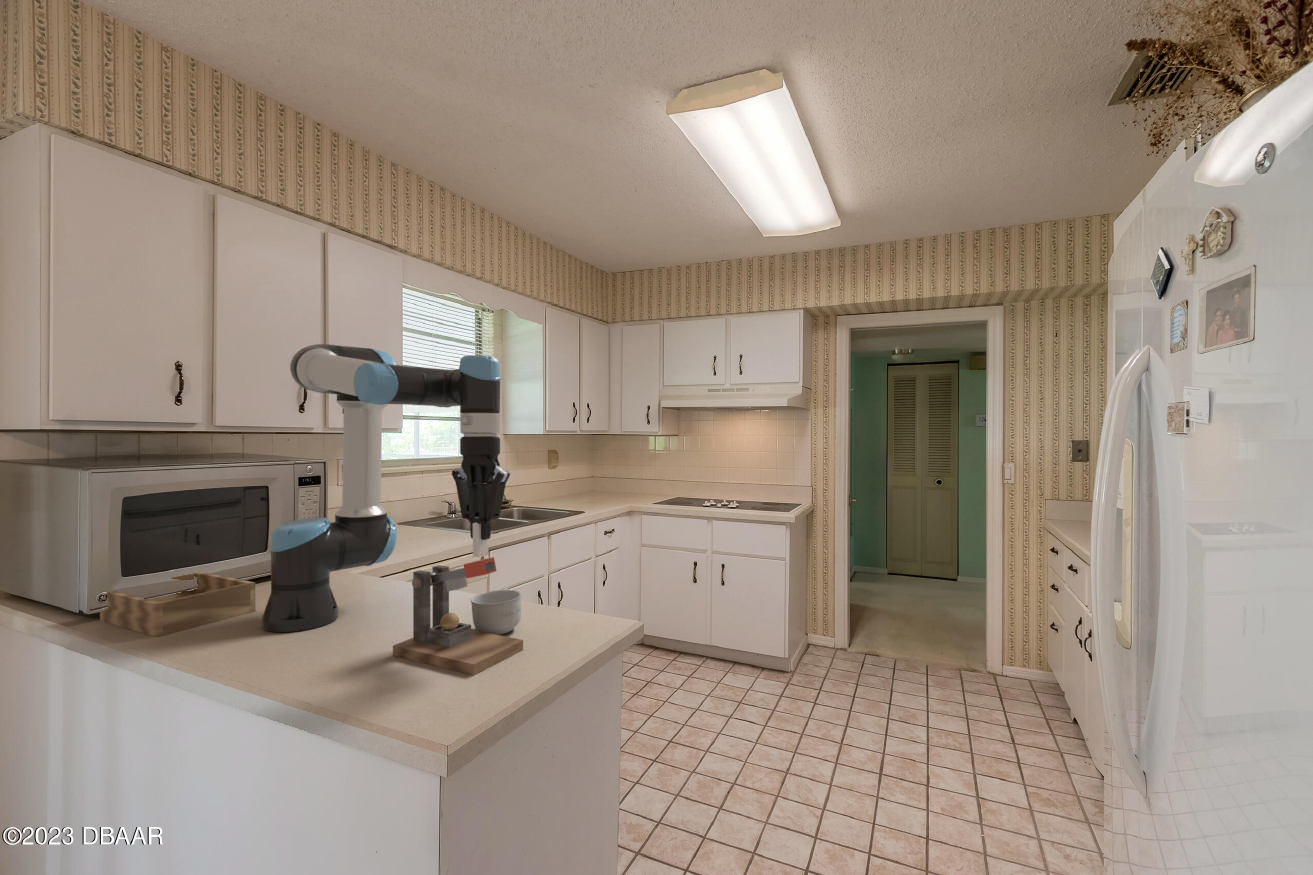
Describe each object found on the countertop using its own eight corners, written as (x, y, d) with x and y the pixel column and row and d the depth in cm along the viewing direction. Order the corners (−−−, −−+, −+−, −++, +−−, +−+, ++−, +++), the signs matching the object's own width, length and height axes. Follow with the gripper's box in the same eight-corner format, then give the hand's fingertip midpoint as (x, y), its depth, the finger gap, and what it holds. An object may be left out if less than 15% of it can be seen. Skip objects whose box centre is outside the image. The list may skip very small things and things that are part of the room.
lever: (423, 596, 121) (419, 573, 121) (435, 592, 124) (431, 570, 124) (487, 583, 114) (482, 560, 114) (498, 580, 117) (493, 557, 117)
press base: (392, 655, 117) (392, 574, 117) (446, 633, 130) (446, 560, 130) (474, 675, 108) (474, 587, 108) (523, 649, 121) (523, 571, 121)
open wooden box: (100, 620, 138) (99, 590, 138) (199, 598, 156) (199, 571, 156) (156, 636, 127) (155, 604, 127) (255, 610, 145) (255, 582, 145)
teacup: (508, 641, 126) (508, 603, 126) (461, 637, 128) (461, 600, 128) (534, 620, 139) (534, 586, 139) (491, 617, 142) (491, 583, 142)
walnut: (436, 632, 119) (436, 614, 119) (449, 626, 123) (449, 609, 123) (449, 634, 118) (449, 616, 118) (462, 629, 121) (462, 611, 121)
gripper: (440, 435, 116) (441, 556, 116) (493, 435, 110) (493, 562, 110) (468, 435, 122) (469, 549, 123) (519, 435, 117) (519, 555, 117)
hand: (480, 555), depth 116 cm, fingers closed
